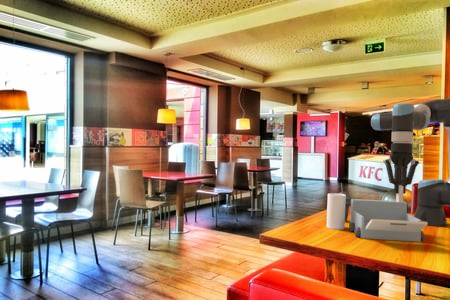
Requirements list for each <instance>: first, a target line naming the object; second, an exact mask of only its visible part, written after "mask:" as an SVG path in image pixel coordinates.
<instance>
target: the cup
mask: <svg viewBox="0 0 450 300" xmlns="http://www.w3.org/2000/svg"><path fill="white" fill-rule="evenodd" d="M345 202H346V195H345V194H339V192H338V193H336V192H329V193H327V204H326V205H327V208H326V228H327V229H330V230H335V231H336V230H338V231H340V230H344V229H345V227H346V226H345V223H346V222H345Z"/></svg>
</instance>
